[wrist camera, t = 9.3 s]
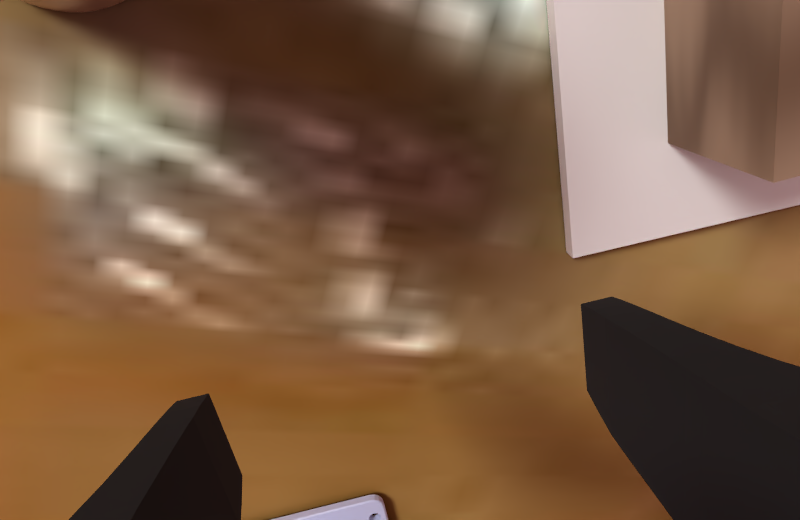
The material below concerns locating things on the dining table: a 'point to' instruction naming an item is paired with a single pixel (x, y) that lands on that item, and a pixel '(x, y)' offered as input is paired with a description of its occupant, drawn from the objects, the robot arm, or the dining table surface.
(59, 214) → the dining table surface
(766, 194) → the ceramic tile
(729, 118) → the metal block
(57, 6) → the beer glass
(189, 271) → the dining table surface
